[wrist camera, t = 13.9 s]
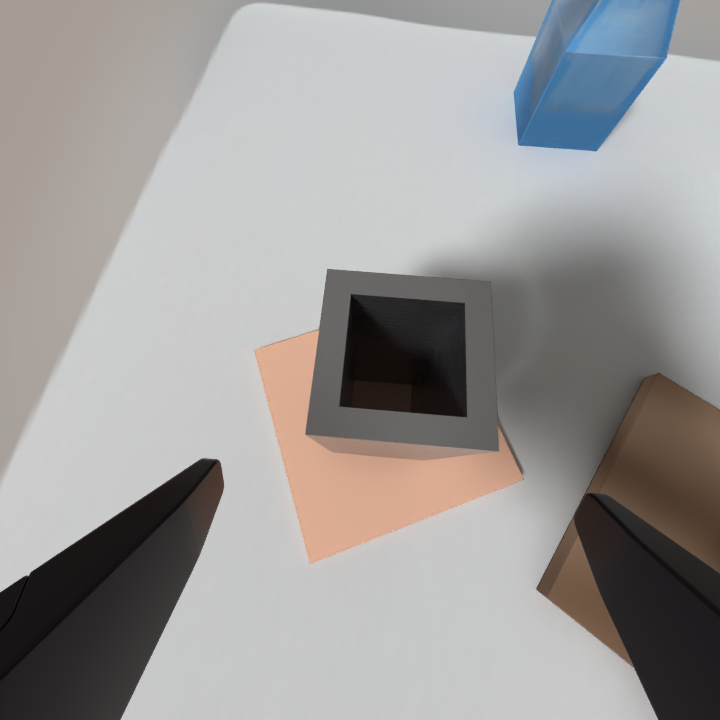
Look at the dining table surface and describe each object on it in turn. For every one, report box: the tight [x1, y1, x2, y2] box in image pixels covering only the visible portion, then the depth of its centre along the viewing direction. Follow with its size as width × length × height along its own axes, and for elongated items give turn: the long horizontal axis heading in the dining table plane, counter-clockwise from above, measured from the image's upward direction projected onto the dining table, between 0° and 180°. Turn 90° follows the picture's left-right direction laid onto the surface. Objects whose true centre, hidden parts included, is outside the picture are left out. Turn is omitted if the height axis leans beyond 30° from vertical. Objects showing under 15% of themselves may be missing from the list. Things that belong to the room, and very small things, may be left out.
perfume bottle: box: [514, 0, 680, 151], centre depth 21 cm, size 6×6×12 cm
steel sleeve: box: [305, 269, 499, 461], centre depth 14 cm, size 5×5×10 cm
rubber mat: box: [254, 330, 524, 564], centre depth 19 cm, size 12×12×1 cm
